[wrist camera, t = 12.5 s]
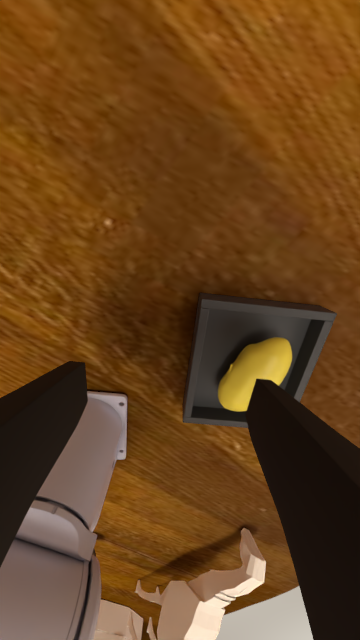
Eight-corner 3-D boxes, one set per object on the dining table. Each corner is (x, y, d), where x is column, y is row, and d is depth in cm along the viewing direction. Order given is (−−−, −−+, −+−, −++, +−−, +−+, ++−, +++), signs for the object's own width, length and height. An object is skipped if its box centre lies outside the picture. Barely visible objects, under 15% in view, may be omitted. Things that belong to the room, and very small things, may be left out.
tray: (278, 414, 21) (287, 431, 19) (182, 406, 21) (182, 422, 19) (320, 305, 17) (337, 313, 15) (199, 292, 16) (201, 298, 15)
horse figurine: (172, 518, 44) (272, 537, 28) (144, 659, 31) (292, 825, 16) (155, 510, 43) (248, 525, 27) (118, 652, 30) (251, 824, 15)
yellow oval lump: (201, 380, 19) (206, 412, 15) (261, 318, 17) (284, 339, 13) (233, 400, 20) (245, 435, 16) (294, 344, 18) (324, 371, 14)
